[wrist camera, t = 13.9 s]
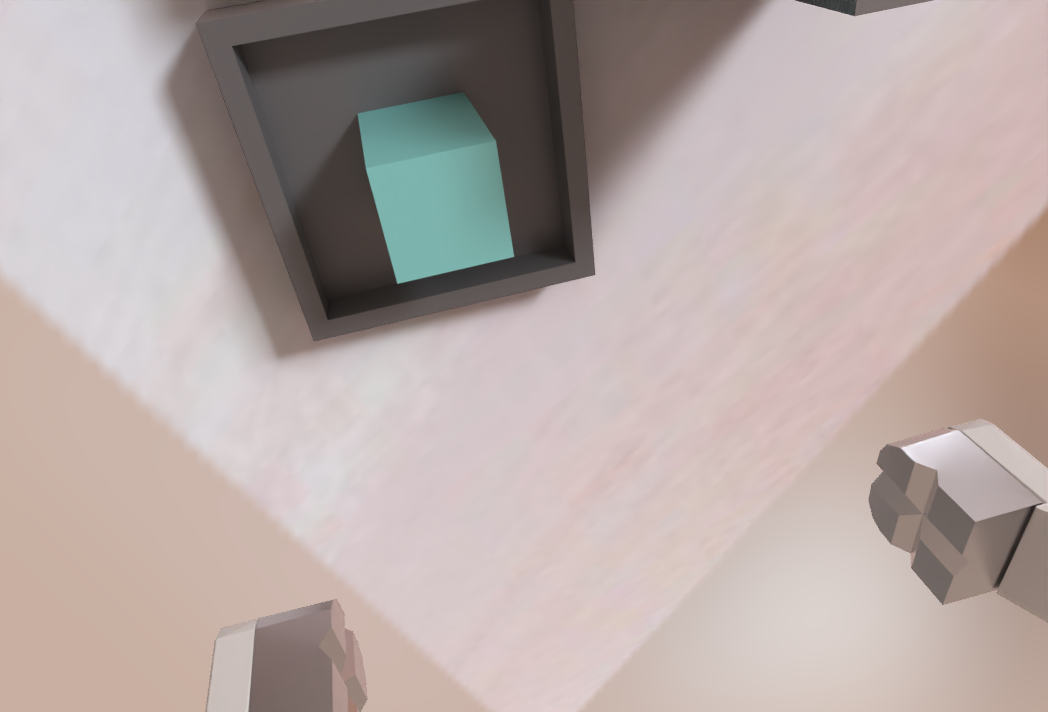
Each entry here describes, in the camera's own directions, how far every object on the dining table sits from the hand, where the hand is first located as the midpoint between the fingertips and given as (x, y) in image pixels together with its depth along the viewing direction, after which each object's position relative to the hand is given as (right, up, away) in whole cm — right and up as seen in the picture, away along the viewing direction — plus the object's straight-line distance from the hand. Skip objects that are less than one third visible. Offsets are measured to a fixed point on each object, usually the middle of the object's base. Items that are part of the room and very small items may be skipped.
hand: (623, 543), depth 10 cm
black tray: (-6, +11, +18) cm, 22 cm away
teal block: (-5, +10, +17) cm, 21 cm away
